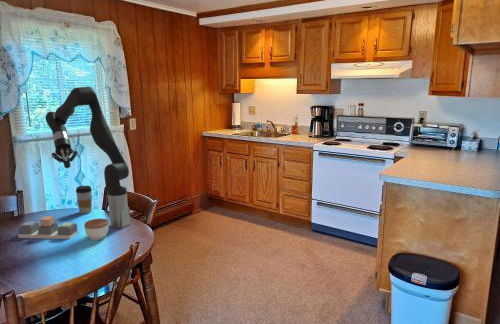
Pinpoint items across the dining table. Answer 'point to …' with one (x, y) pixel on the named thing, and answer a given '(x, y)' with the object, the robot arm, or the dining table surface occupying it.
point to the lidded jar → (96, 228)
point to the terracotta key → (47, 221)
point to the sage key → (66, 225)
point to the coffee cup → (84, 199)
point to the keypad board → (47, 232)
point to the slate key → (28, 224)
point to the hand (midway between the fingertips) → (67, 167)
